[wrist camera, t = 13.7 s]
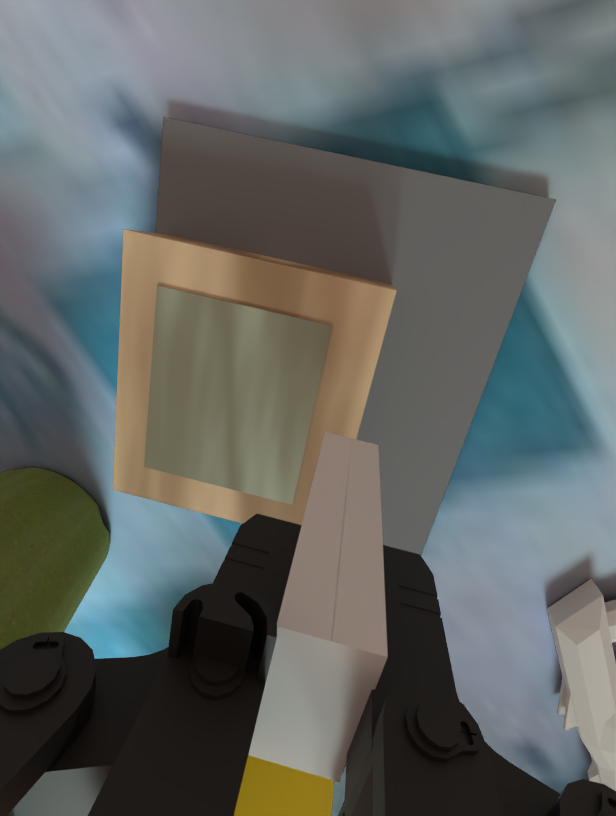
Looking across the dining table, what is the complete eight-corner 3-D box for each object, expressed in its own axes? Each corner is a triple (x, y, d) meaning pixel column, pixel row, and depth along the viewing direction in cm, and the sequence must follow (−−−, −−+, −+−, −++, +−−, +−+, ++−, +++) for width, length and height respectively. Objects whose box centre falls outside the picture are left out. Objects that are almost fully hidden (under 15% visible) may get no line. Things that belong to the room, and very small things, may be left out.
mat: (415, 557, 21) (416, 566, 20) (143, 486, 21) (137, 492, 21) (549, 201, 15) (556, 199, 14) (170, 121, 16) (163, 117, 15)
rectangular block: (396, 290, 13) (121, 229, 14) (327, 547, 17) (111, 490, 17) (391, 284, 16) (165, 233, 17) (333, 504, 20) (148, 457, 20)
